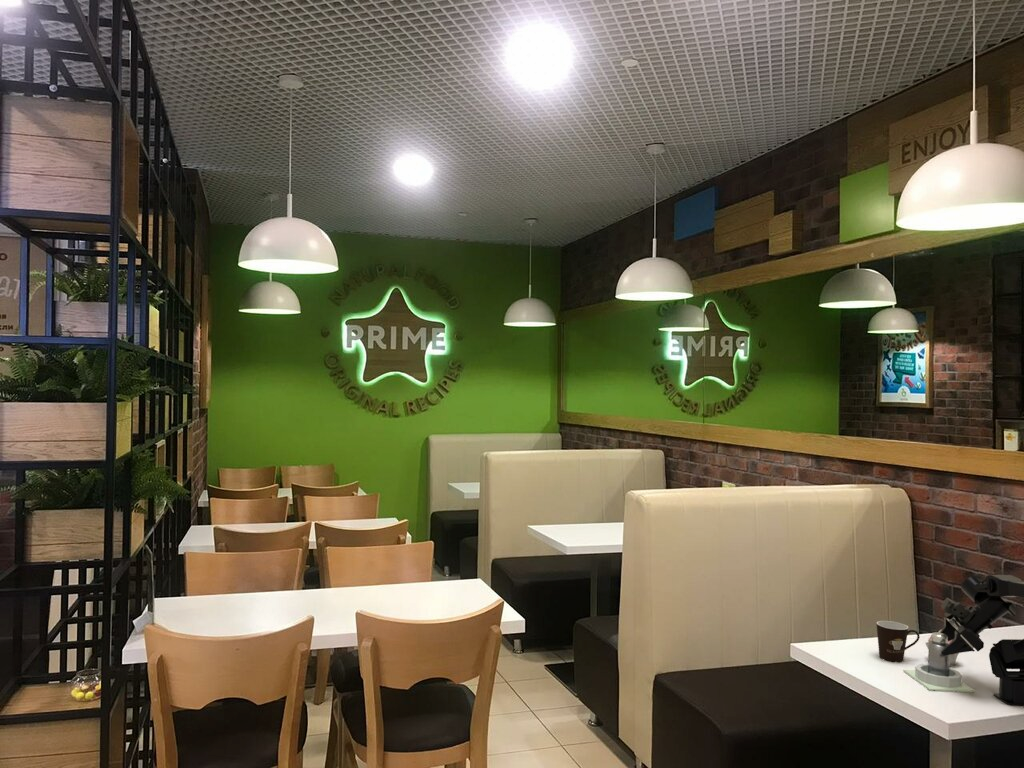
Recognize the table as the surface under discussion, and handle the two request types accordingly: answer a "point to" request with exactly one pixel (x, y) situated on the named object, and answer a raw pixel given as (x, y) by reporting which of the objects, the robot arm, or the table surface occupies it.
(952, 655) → the cupcake
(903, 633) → the coffee mug
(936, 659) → the metal bottle
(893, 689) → the table surface
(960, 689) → the ring plate
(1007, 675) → the robot arm
